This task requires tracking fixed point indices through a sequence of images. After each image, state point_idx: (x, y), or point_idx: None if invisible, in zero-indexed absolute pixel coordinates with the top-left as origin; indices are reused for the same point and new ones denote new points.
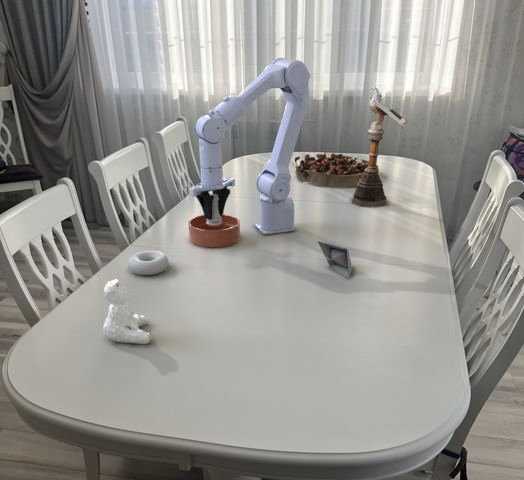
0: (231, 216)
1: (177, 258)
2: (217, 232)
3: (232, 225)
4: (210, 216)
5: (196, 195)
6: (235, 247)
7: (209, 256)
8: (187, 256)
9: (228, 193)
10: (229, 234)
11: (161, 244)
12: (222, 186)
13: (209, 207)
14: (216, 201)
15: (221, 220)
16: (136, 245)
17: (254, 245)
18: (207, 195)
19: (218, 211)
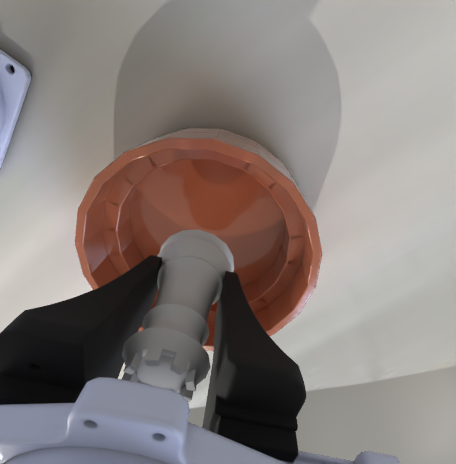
0: (84, 242)
1: (435, 232)
2: (292, 180)
3: (113, 213)
4: (238, 280)
5: (365, 456)
6: (233, 104)
7: (374, 141)
8: (404, 214)
9: (47, 316)
10: (234, 141)
11: (336, 333)
12: (122, 410)
13: (251, 315)
14: (171, 325)
15: (113, 274)
16: (372, 376)
17: (161, 34)
18: (259, 402)
19: (170, 278)
